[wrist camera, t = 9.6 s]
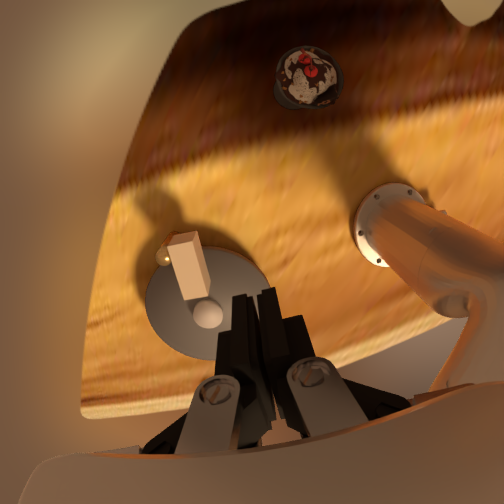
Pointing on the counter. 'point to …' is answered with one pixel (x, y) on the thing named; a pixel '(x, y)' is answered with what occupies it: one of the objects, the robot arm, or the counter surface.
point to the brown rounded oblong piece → (164, 251)
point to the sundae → (307, 79)
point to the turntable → (199, 294)
